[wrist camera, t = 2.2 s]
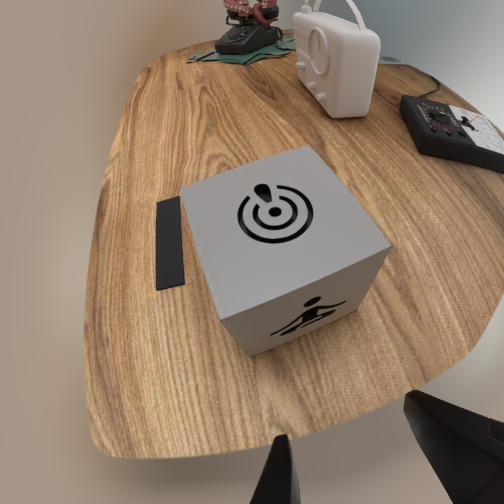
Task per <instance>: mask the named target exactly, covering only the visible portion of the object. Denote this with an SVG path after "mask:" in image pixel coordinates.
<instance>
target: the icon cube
mask: <svg viewBox="0 0 504 504" xmlns="http://www.w3.org/2000/svg"><path fill="white" fill-rule="evenodd" d="M180 193H181V196H182V200H183V204H184V207H185V211H186V214H187V218H188V221H189V225H190V228H191V231H192V235H193V238H194V241H195V245H196V248H197V251H198V255H199V258H200V261H201V264H202V267H203V271H204V274H205V277H206V280H207V283H208V286H209V289H210V292H211V295H212V298H213V301H214V304H215V307H216V310H217V313H218V316H219V319H220V321H221V322H222V323H223V325H224V326H225V327H226V329H227V330H228V331H229V333H230V334H231V335H232V336H233V338H234V339H235V340H236V342H237V343H238V344H239V345H240V347H241V348H242V349H243V350H244V352H245V353H246V354H247V355H248V357H252V356H254V355H257V354H259V353H262V352H264V351H267V350H269V349H272V348H274V347H277V346H279V345H282V344H284V343H286V342H289V341H291V340H293V339H296V338H298V337H300V336H303V335H305V334H307V333H309V332H312V331H314V330H316V329H318V328H320V327H322V326H325V325H327V324H329V323H331V322H333V321H335V320H337V319H339V318H341V317H343V316H345V315H347V314H349V313H351V312H353V311H355V310H357V309H358V307H359V306H360V304H361V302H362V300H363V299H364V297H365V295H366V293H367V292H368V290H369V288H370V286H371V284H372V283H373V281H374V279H375V277H376V275H377V273H378V271H379V270H380V268H381V266H382V264H383V262H384V260H385V258H386V256H387V254H388V252H389V250H390V248H391V246H392V245H391V244H390V242H389V241H388V240H387V238H386V237H385V236H384V234H383V233H382V231H381V230H380V229H379V227H378V226H377V225H376V223H375V222H374V221H373V220H372V218H371V217H370V216H369V214H368V213H367V212H366V211H365V209H364V208H363V207H362V205H361V204H360V203H359V202H358V200H357V199H356V198H355V197H354V196H353V194H352V193H351V192H350V191H349V190H348V188H347V187H346V186H345V185H344V184H343V182H342V181H341V180H340V179H339V178H338V177H337V175H336V174H335V173H334V172H333V171H332V170H331V169H330V167H329V166H328V165H327V164H326V163H325V162H324V161H323V160H322V159H321V157H320V156H319V155H318V154H317V153H316V152H315V151H314V150H313V149H312V148H311V147H310V146H309V145H306V146H303V147H299V148H296V149H292V150H289V151H286V152H282V153H279V154H276V155H273V156H270V157H266V158H263V159H260V160H257V161H254V162H251V163H248V164H245V165H242V166H239V167H236V168H234V169H231V170H228V171H225V172H222V173H220V174H217V175H214V176H212V177H209V178H206V179H204V180H201V181H198V182H196V183H193V184H191V185H188V186H186V187H183V188H181V189H180Z"/></svg>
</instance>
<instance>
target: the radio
mask: <svg viewBox="0 0 504 504" xmlns="http://www.w3.org/2000/svg"><path fill="white" fill-rule="evenodd" d="M321 1H322V0H317V1H316V3H315V6H314V10H313V12H311V7H309V6H308V5H307V3H308V0H304V6H302V7H301V11H302V12H301V13H300V12H299V13H295V14H294V15H293V17H292V22H293V30H294V38H295V46H296V55H297V63H295V66H296V68H297V69H298V74H299V78H300V80H301V82H302V83H303V84H304V85H305V86H306V87H307V89H308V90H309V91H310V92H311V93H312V95H313V96H314V97H315V98H316V99H317V101H318V102H319V103H320V104H321V106H322V107H323V108H324V109H325V111H326V112H327V113H328V114H329V116H331V117H332V118H347V117H363V116H366V115H367V113H368V110H369V106H370V101H371V96H372V91H373V86H374V81H375V76H376V70H377V64H378V59H379V52H380V39H379V37H378V35H377V34H376V33H374V32H373V31H371V30H369V29H366V28H365V25H364V22H363V19H362V17H361V14H360V13H359V11H358V9H357V8H356V6H355V4H354V3H353V1H351V0H346V1H347V2H348V4H349V6H350V7H351V9H352V11H353V12H354V14H355V16H356V19H357V22H358V25H357V24H354V23H352V22H349V21H346V20H344V19H341V18H338V17H335V16H332V15H329V14H326V13H322V12H318V9H319V6H320V2H321Z"/></svg>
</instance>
